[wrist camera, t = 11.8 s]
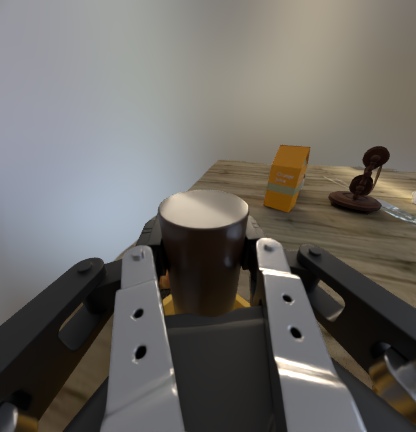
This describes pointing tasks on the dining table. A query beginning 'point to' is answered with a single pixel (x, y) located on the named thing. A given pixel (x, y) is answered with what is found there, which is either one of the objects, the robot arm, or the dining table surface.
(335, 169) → the dining table surface
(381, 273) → the dining table surface
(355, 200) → the brown wooden sculpture
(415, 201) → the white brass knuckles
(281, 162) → the orange juice
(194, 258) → the brown cylinder
